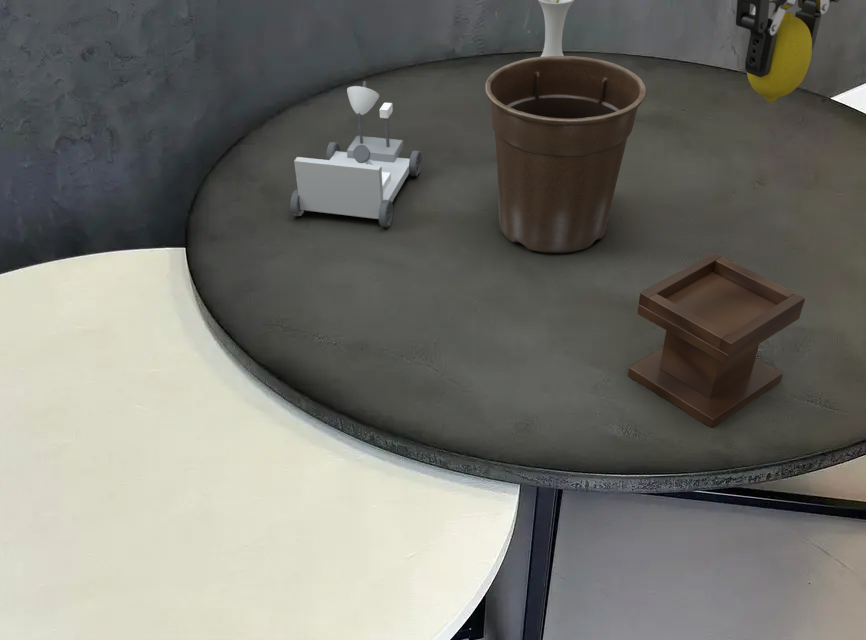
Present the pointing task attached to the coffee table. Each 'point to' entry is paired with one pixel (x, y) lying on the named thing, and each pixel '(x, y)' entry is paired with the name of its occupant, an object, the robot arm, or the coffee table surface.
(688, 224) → the coffee table surface
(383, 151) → the grey toy rover
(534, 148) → the plant pot
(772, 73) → the lemon
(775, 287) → the stand
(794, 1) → the robot arm
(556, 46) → the flower in vase
